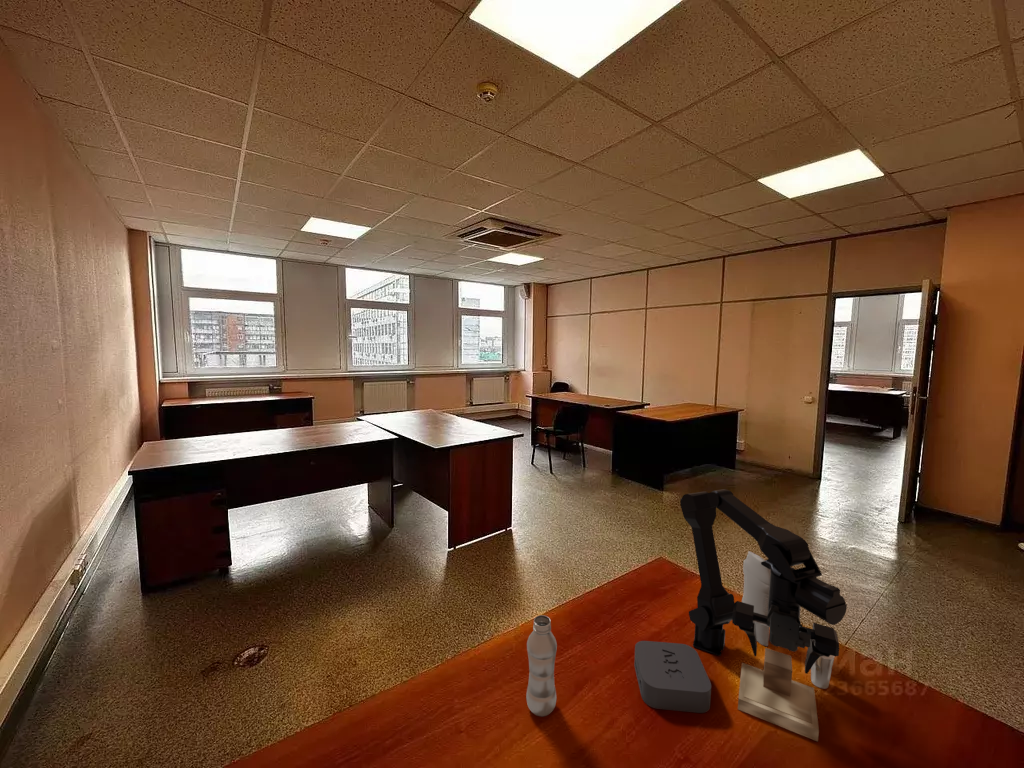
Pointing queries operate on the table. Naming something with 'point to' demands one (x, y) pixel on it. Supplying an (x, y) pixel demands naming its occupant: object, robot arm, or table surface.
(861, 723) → the table surface
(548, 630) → the plastic bottle
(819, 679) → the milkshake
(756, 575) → the grey ridged slab
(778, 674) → the walnut block
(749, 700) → the base
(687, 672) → the streaming box
